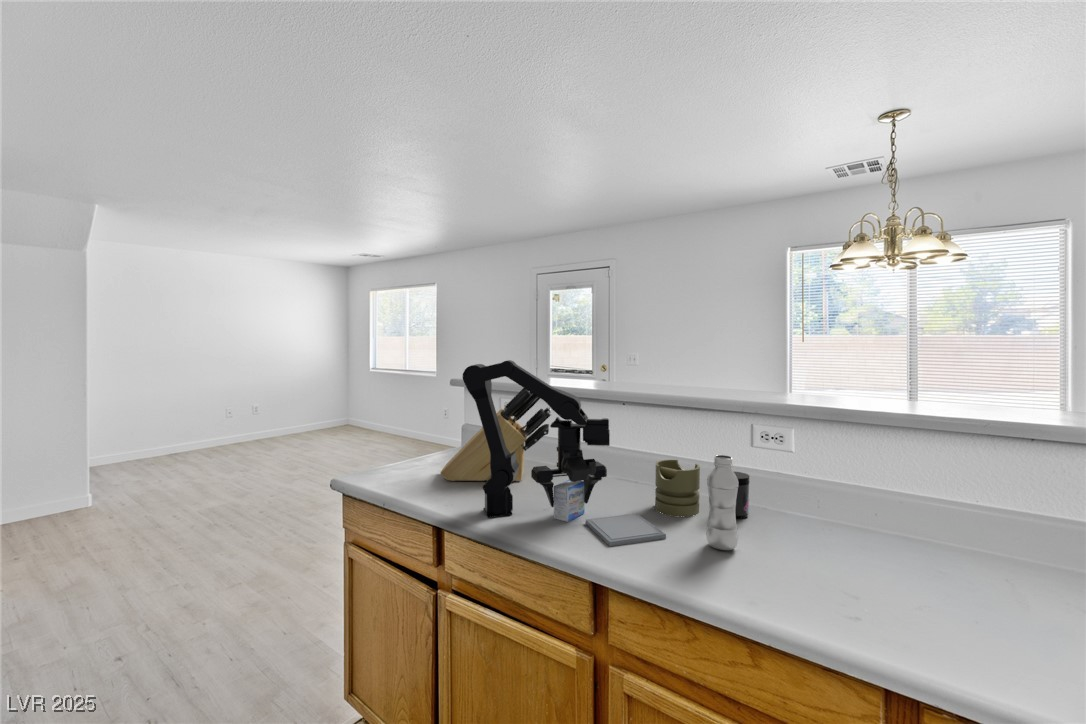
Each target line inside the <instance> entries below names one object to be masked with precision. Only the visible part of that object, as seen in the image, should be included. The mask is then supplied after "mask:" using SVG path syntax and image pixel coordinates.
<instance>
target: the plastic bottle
mask: <svg viewBox="0 0 1086 724" xmlns="http://www.w3.org/2000/svg"><path fill="white" fill-rule="evenodd" d="M713 458H714V459H713V466H714V467H713V468H712V470H711V471H710V472H709V474H708V475H707V479H706V484H707V492H708V502H709V506H708V507H709V512H708V523H707V526H706V533H705V535H706V541H707V543H708V544H709V545H710V547H712V548H714V549H716V550H719V551H732V550H733V551H734V549H735V548H736V547H737V545H738V544H739V533H738V528H737V519H736V515H735V510H736V508H735V507H736V498H737V491H738V484H739V482H738V479H737V477H736V475H735V473H734V472H735V471H734V470H733V469H732V467H734V466H733V464H734V463H733V457H732V456H729V455H725V454H717V455H714V457H713ZM733 471H734V472H733Z"/></svg>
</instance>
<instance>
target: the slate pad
mask: <svg viewBox="0 0 1086 724" xmlns="http://www.w3.org/2000/svg"><path fill="white" fill-rule="evenodd" d="M585 525H587V527H588V528H590V529H591V530H592V532H594V533H595V534H596V535H597V536H598V537H599V538H600V539H601V540H602V541H604V542H605V543H606V545H608V546H609V547H615V546H623V545H630V544H636V543H644V542H650V541H659V540H666V539H667V534H666V533H665V532H663V531H662V530H661V529H659V528H658V527H657V526H656V525H654V524H653V523H651V522H649V521H648V520H647V519H645V518H644V517H643V516H641V515H639V513H629V514H628V513H627V514H621V515H613V516H612V515H611V516H603V517H597V518H596V517H595V518H589V519H585ZM665 538H666V539H665Z"/></svg>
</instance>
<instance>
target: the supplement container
mask: <svg viewBox="0 0 1086 724" xmlns="http://www.w3.org/2000/svg"><path fill="white" fill-rule="evenodd" d="M732 471H733V472H734V473H735V475H736V477H737V479H738V482H739V484H738V491H737V498H736V507H735V508H736V510H735V515H736V518H737V519H741V520H742V519H745V518H747V517H748V516H749V514H750V513H749V511H750V510H749V509H750V483H751V482H750V477H751V476H750V474H748V473H746V472H742V471H734V470H732ZM737 519H736V520H737Z"/></svg>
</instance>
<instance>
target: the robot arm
mask: <svg viewBox="0 0 1086 724" xmlns="http://www.w3.org/2000/svg"><path fill="white" fill-rule="evenodd" d="M503 377H506V378H508V379H509V380H510V381H513V382H514V383H516V384H517V385H519V386H520V387H522V388H525V389H527V390H528V391H529V392H531V393H533V394H535V395H536V396H538V397H539V398H540V399H541V400H542V401H543V402H545V403H546V405H548V407H549V408H550V409H551V411H553V412H554V413H556V414H557V415H558V416H557V417H556V418H555V420H554V421H553V422H551V424H549V428H555V429H556V428H557V446H556V452H557V457H558V458H557V462H556V467H557V468H554V469H551V468H550V467H548V465H541V466H540V465H539V466H533V467H532V469H531V471H530V472H531V475H530V476H531V479H533V480H534V482H535V483H537V484H540V485H541V486H542V487H543V489H544V491H545V494H546V496H547V499H548V502H549V505H550V507H551V508H554V486H555V485H554V482H553V481H552V480H554V478H555V477H556V478H557V477H568V480H570V481H572V482H576V481H580V480H581V481H584V504H586V505H587V504H588V502H589V500H590V497H591V494H592V492H593V489H594V486H595V485H596V484H597V483H598V482H599V481H600V482H601V481H602V479H603V478H606V477H608V469H607V467H606V466H605V464H602V462H601V463H600V462H599V461H597V460H595V458H584V456H583V450H582V448H581V429H582V442H584V443H585V444H586V445H587V446H600V447H601V446H602V447H604V446H605V447H610V442H611V441H610V440H611V439H610V434H611V433H610V423H609V422H610V419H609V418H606V417H603V418H589V417H588V415H587V414H586V413H585V411H584V410H583V408H582V403H581V400H580V398H579V397H578V396H576V395H575V394H572V393H570V392H567V391H565V390H562V389H559V388H555V387H553V386H552V385H550V384H549V383H547V382H545V381H543V380H542V379H540V378H538V377H537V376H535V375H534V374H533V373H531V372H529V371H528V370H526V369H525V368H523V367H522V366H520V365H518V364H517V363H516V362H515V361H514V360H509V359H507V360H504V361H502V362H499V363H495V364H490V365H484V364H482V363H478V364H477V363H476V364H471V365H468V366H467V367H466V368H465V369H464V370H463V373H462V381H463V383H464V386H465V388H466V389H467V392H468V393H469V394H470V396H471V397H472V399H473V400H474V401H475V404H476V409H477V411H478V415H479V419H480V422H481V425H482V427H483V429H484V433H485V436H486V440H487V443H488V447H489V450H490V470H491V477H490V478H489V479H488V480H486V481H485V483H484V484H483V485H482V490H483V492H484V507H483V511H484V514H485V515H486V517H487V518H498V517H503V516H504V517H506V516H512V515H513V512H512V511H513V509H514V506H513V501H514V500H513V499H514V498H513V494H512V492H511V488H510V487H509V486H511V484H512V483H513V482H514V481H513V480H514V479H515V477H516V475H517V473H518V467H519V466H520V465H519V464H518V462H517V459H516V453H515V452H513V453H510V452H509V451H508V449H507V448H506V445H505V442H504V438H503V435H502V431H501V428H500V424H499V421H498V417H497V411H496V407H495V405H494V400H493V397H492V380H495V379H499V378H503ZM560 418H561V419H560Z"/></svg>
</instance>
